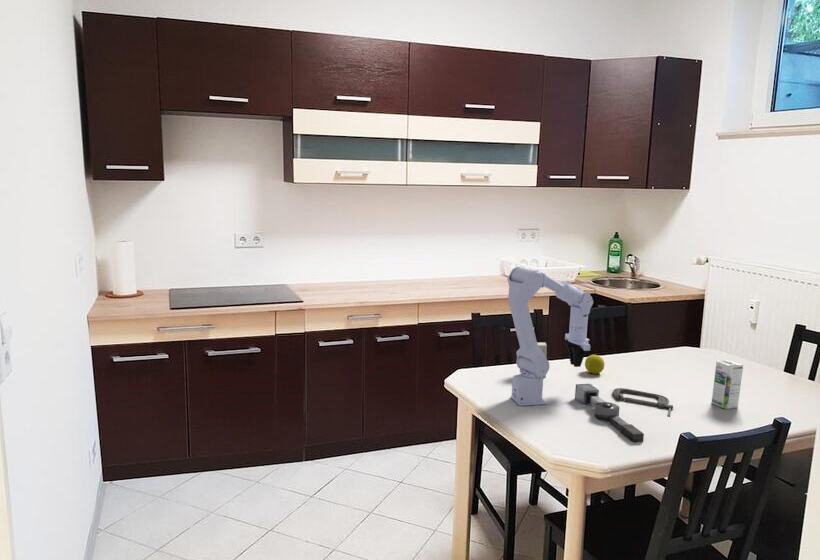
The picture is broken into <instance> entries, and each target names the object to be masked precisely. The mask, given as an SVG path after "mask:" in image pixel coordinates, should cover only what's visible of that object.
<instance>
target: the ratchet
mask: <svg viewBox="0 0 820 560" xmlns="http://www.w3.org/2000/svg"><path fill="white" fill-rule="evenodd" d="M590 404H591V405H590V406H593V407H594V416H593V417H594V418H595V419H597V420H598V421H601V422H607V423H609V424H610V425H611V426H612V427H614V428H615V429H616V430H617V431H619V432H620V434H622V435H623V436H624V437H626V439H628V440H629V441H631V442H632V443H640V442H644V438H645V437H644V435H645V433H644V432H642V431H641V430H640V429H639V428H637V427H636V426H634V425H633V424H630V423H627V421H625V420H624V419H622V418H621V417H620V406H619V405H618V404H616V403H613V402H609V401H605V400H604V399H602V398H601V397H600V396H591V403H590Z"/></svg>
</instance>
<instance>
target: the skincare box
mask: <svg viewBox="0 0 820 560" xmlns="http://www.w3.org/2000/svg"><path fill="white" fill-rule="evenodd" d="M537 345H538V347H539V348H540V349H541V350H542V351H543V353H544V354H545V358H546V359H547V353H548V352H547V350H548V349H547V347H548V345H547V342H542V341H541V342H538V341H537ZM546 377H547V374H546V375H545V377H544V378H546Z"/></svg>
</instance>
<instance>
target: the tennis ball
mask: <svg viewBox="0 0 820 560" xmlns="http://www.w3.org/2000/svg"><path fill="white" fill-rule="evenodd" d="M584 367H585V369H586V371H587V372H589V374H593V375H597V374H600V373H602V371H603V370H604V369H605V361H604V359H603V357H602V356H600V355H597V354H591V355H588V356H587V357H586V358H585V361H584Z"/></svg>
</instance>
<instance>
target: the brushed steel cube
mask: <svg viewBox="0 0 820 560" xmlns="http://www.w3.org/2000/svg"><path fill="white" fill-rule="evenodd" d="M599 394H600V389H598V388H596V387H595V386H593V385H592V384H591V383H579V384H578V383H577V384H575V391H574V400H575V401H577V402H578V403H579V402H580V403H579V404H580V405H582V406H583V405H585V406H592V405H591V404H590V403H591V396H598V397H600V396H599Z"/></svg>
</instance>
